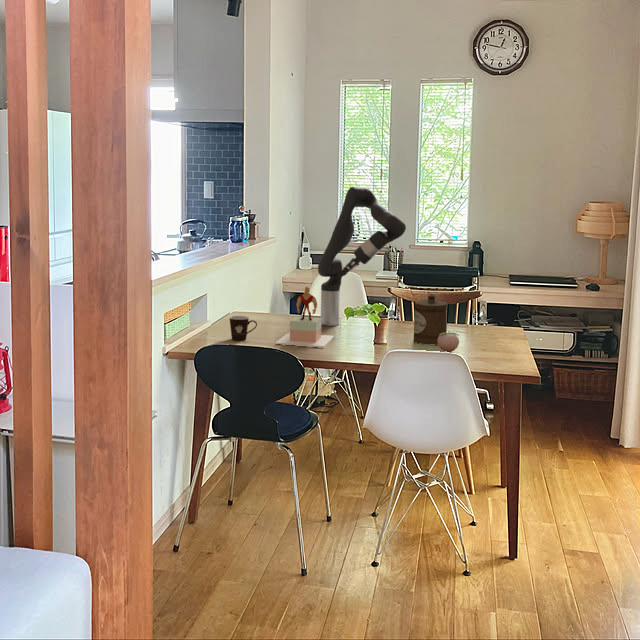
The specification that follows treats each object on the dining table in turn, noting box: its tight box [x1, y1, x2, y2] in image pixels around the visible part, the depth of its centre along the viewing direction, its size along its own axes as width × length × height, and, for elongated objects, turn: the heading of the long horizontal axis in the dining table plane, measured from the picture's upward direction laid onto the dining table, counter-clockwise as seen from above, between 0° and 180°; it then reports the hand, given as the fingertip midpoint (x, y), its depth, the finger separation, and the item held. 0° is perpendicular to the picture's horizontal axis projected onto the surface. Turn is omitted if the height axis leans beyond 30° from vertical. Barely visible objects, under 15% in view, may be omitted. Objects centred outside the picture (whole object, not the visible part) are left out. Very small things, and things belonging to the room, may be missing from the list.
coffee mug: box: [229, 315, 258, 342], centre depth 364 cm, size 12×9×10 cm
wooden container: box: [413, 293, 448, 345], centre depth 368 cm, size 15×15×22 cm
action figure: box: [296, 286, 318, 320], centre depth 361 cm, size 10×4×15 cm, turn 81°
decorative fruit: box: [437, 332, 460, 353], centre depth 347 cm, size 9×8×10 cm
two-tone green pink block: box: [275, 316, 335, 349], centre depth 363 cm, size 22×22×10 cm
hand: (340, 275), depth 359 cm, fingers open, 8 cm apart
